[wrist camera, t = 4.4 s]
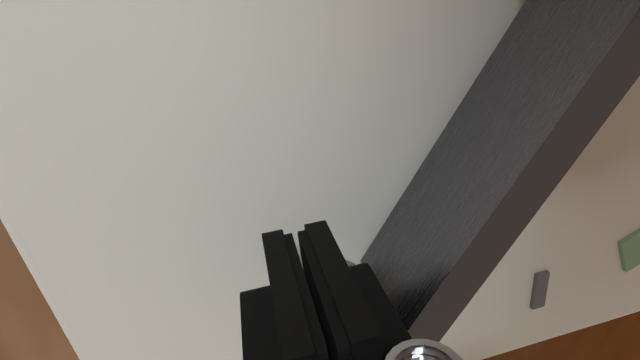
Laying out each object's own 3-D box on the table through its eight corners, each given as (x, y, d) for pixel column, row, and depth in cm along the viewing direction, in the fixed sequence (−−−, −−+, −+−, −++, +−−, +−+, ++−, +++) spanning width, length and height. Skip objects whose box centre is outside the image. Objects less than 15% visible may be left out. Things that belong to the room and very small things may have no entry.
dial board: (-198, -234, 6) (-297, -291, 5) (1033, -281, 11) (1134, -317, 10) (145, 430, 14) (138, 469, 13) (785, 241, 19) (824, 258, 17)
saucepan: (617, -282, 7) (1203, -717, 3) (721, -130, 9) (1199, -264, 5) (310, 242, 11) (373, 409, 6) (428, 284, 12) (544, 440, 8)
